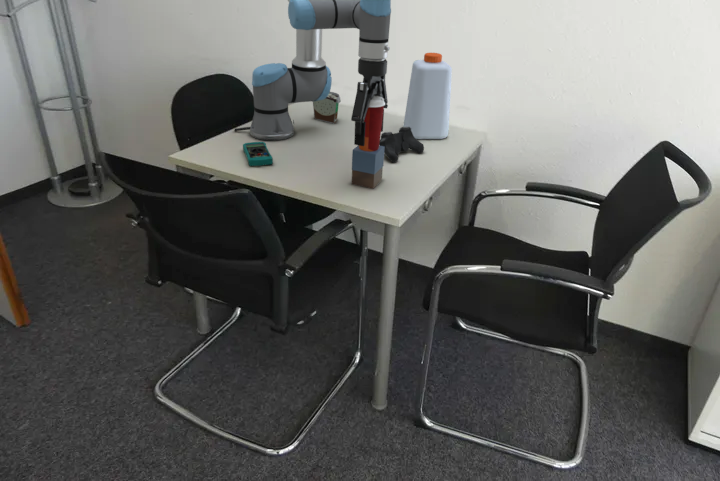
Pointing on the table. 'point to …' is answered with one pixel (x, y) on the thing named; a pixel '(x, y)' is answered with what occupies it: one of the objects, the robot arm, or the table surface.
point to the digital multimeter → (257, 154)
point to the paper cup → (373, 124)
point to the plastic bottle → (429, 98)
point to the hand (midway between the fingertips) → (369, 137)
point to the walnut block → (366, 178)
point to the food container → (327, 108)
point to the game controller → (399, 143)
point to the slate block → (367, 160)
